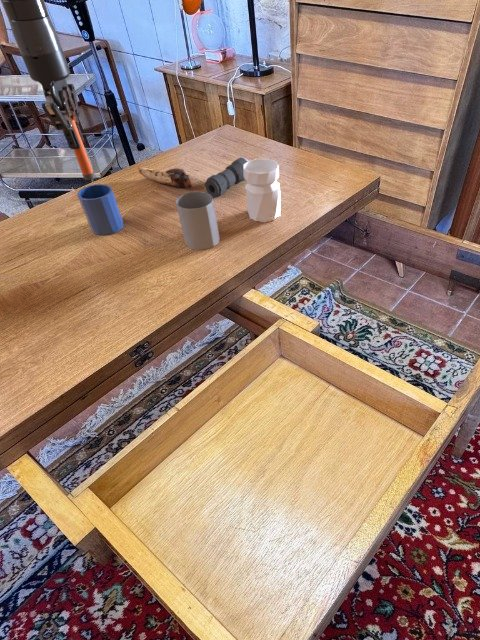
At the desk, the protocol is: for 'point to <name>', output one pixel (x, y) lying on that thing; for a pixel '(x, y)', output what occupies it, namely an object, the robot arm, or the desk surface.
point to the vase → (262, 189)
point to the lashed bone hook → (167, 176)
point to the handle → (82, 156)
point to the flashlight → (226, 178)
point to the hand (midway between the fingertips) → (77, 145)
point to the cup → (198, 220)
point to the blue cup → (101, 209)
